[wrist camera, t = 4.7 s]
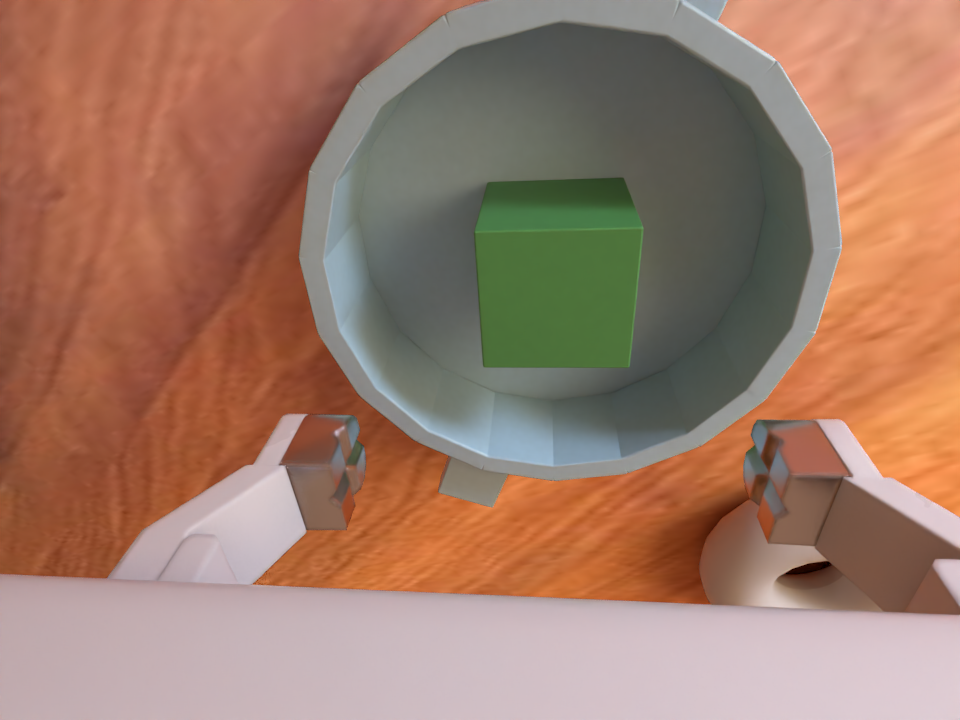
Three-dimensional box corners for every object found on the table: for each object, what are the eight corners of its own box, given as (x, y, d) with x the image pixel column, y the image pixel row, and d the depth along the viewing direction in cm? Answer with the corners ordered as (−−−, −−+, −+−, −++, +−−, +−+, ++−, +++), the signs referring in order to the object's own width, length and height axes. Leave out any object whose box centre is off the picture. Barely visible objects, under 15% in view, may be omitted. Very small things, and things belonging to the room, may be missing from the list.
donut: (692, 600, 32) (891, 597, 30) (705, 661, 29) (925, 662, 27) (691, 473, 27) (932, 458, 25) (707, 532, 24) (980, 521, 22)
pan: (955, -18, 16) (1080, -16, 12) (629, 483, 28) (642, 563, 24) (410, -228, 14) (364, -298, 11) (311, 392, 26) (273, 461, 22)
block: (624, 177, 19) (644, 227, 15) (614, 299, 22) (629, 368, 18) (487, 181, 20) (473, 231, 16) (493, 301, 22) (482, 368, 18)
